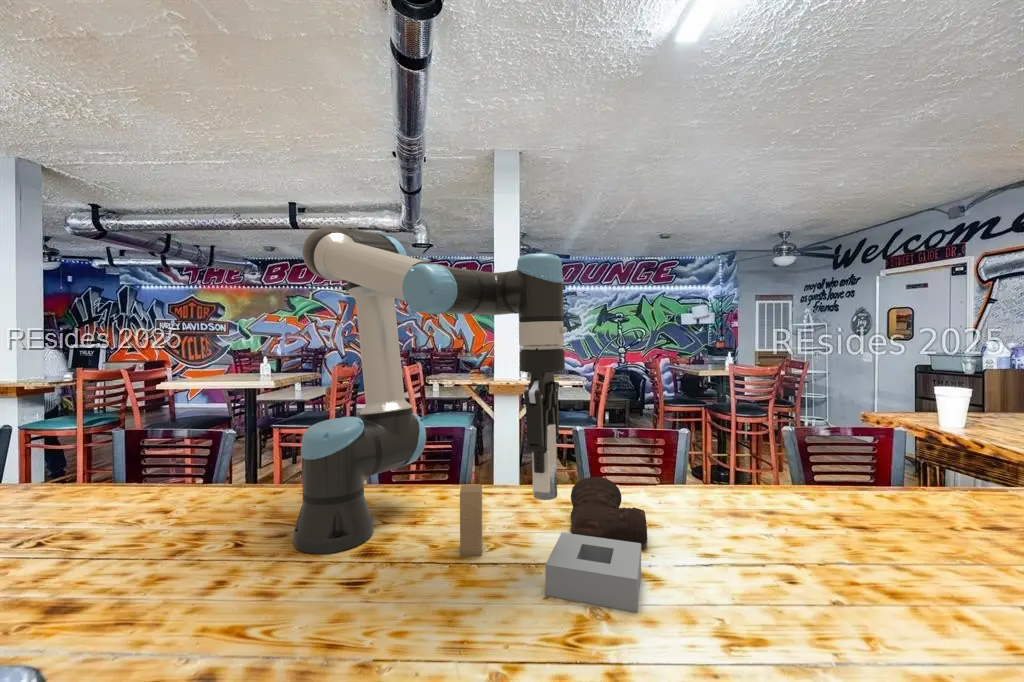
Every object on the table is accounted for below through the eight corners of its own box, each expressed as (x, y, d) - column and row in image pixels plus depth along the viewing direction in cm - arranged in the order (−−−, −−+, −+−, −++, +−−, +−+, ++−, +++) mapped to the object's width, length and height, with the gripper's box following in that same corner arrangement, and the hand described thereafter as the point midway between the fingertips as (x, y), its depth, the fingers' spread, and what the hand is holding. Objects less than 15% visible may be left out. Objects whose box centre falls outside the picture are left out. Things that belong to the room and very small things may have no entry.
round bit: (530, 498, 77) (528, 426, 77) (537, 490, 80) (535, 422, 80) (553, 501, 75) (552, 427, 75) (559, 492, 79) (557, 423, 79)
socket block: (545, 595, 73) (545, 564, 73) (561, 559, 85) (561, 532, 84) (637, 612, 69) (637, 579, 69) (641, 571, 80) (641, 543, 80)
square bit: (460, 556, 86) (459, 492, 86) (461, 546, 90) (461, 484, 90) (481, 555, 86) (481, 491, 86) (482, 545, 90) (482, 484, 90)
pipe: (647, 515, 86) (638, 475, 101) (566, 514, 89) (569, 476, 103) (649, 561, 88) (640, 516, 102) (570, 559, 91) (572, 515, 105)
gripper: (550, 349, 68) (554, 507, 69) (574, 345, 84) (577, 473, 85) (503, 350, 71) (507, 502, 71) (534, 346, 87) (537, 470, 87)
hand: (545, 486), depth 78 cm, fingers closed on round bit, 4 cm apart
